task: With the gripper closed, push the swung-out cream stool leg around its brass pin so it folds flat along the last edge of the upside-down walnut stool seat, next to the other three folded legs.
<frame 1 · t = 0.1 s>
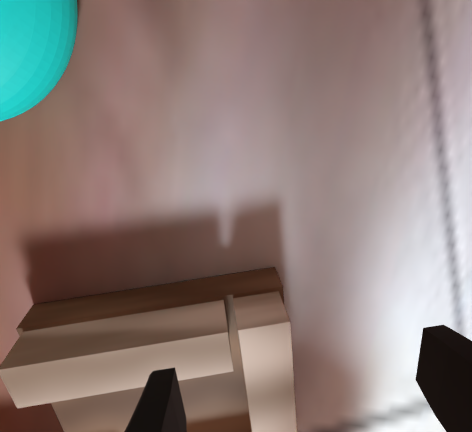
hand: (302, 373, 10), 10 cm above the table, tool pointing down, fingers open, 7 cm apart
stool seat: (177, 373, 23), on the table
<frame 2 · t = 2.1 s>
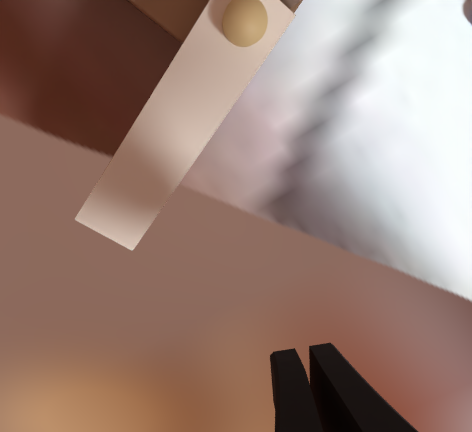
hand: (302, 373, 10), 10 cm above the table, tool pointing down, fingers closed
hinged leg: (178, 121, 13), point 4 cm above the table, hinge at 90.0°
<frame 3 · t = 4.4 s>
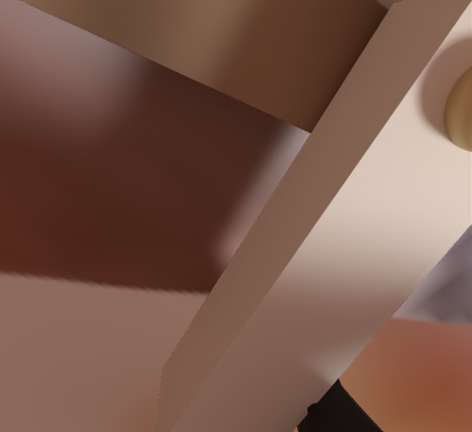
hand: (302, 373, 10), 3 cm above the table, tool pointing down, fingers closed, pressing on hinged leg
hinged leg: (318, 274, 7), point 4 cm above the table, hinge at 83.6°, touching gripper
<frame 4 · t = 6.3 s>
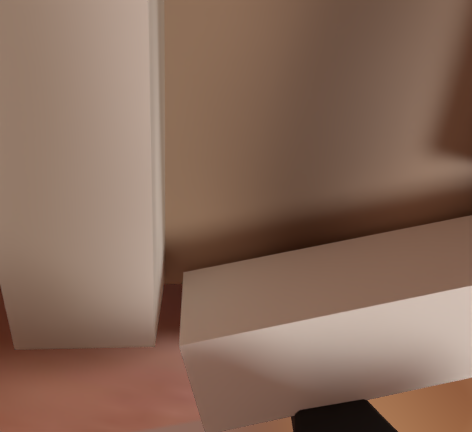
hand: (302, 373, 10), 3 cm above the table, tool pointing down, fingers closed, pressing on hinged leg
stool seat: (341, 5, 9), on the table
hinged leg: (420, 309, 8), point 4 cm above the table, hinge at 13.5°, touching gripper
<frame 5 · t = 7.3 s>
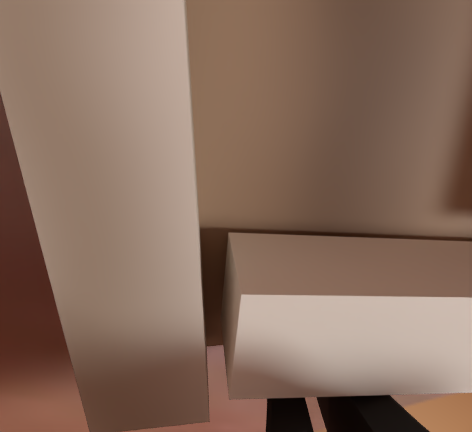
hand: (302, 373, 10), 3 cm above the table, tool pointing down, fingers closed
stool seat: (348, 80, 9), on the table
hinged leg: (454, 318, 8), point 4 cm above the table, hinge at -6.0°, touching gripper
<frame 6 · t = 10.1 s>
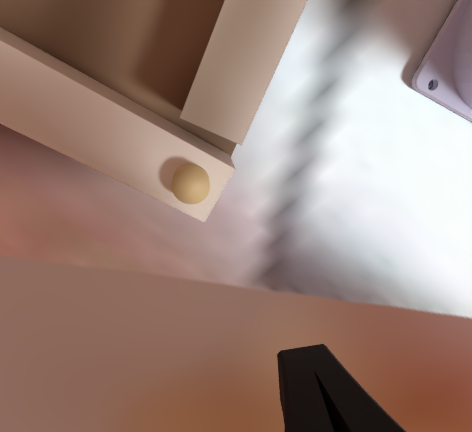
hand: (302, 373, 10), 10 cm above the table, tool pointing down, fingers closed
hinged leg: (96, 125, 13), point 4 cm above the table, hinge at -5.8°
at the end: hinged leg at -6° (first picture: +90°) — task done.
